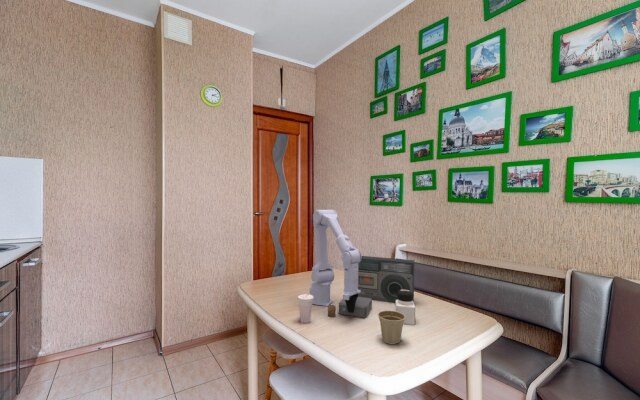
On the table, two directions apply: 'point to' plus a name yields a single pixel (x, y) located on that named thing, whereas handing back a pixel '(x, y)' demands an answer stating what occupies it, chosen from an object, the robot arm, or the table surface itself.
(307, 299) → the smoothie
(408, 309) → the medicine bottle
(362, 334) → the table surface
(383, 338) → the flower pot
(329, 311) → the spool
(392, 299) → the cassette player
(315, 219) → the robot arm
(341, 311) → the tray
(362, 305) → the disc
